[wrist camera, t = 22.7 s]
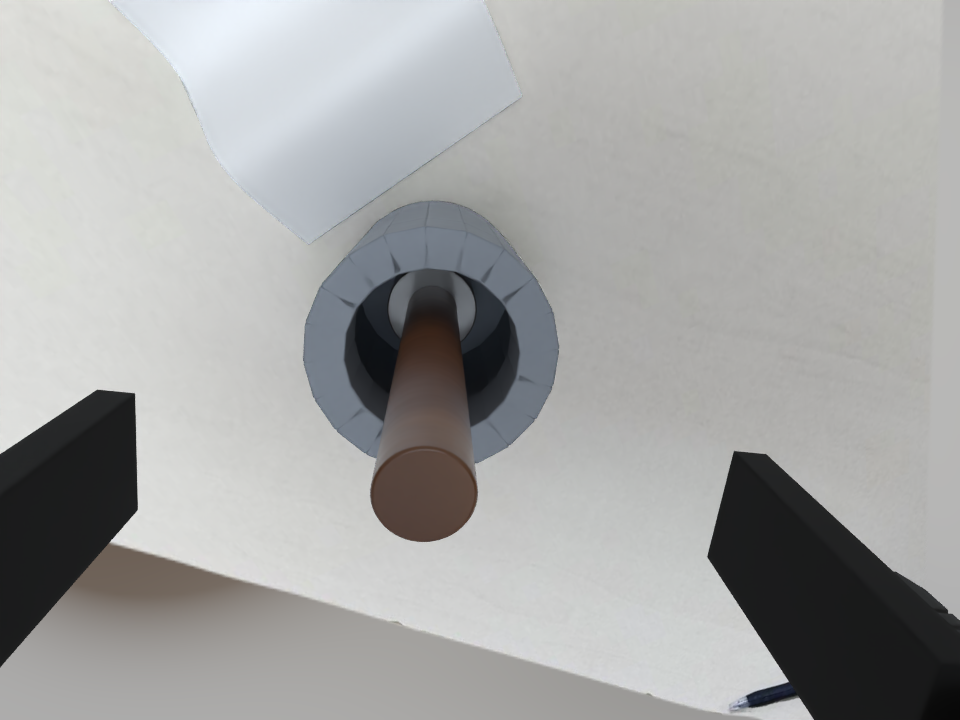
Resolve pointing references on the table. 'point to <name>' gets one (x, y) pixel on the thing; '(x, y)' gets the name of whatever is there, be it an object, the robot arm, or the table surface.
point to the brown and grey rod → (427, 411)
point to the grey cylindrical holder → (485, 351)
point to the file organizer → (329, 91)
